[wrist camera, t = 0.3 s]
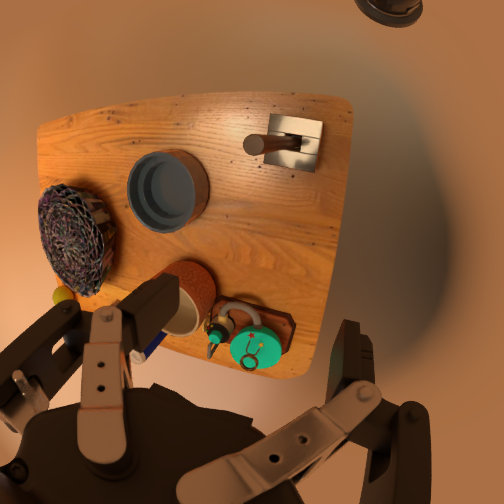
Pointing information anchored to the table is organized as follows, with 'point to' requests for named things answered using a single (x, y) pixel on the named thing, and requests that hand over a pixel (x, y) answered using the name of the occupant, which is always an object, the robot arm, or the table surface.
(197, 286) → the planter
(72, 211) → the decorative bowl
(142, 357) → the beverage can
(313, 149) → the holder
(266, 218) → the table surface
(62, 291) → the yellow oval fruit
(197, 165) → the bowl
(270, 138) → the stirring stick
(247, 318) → the contraption on wooden base
